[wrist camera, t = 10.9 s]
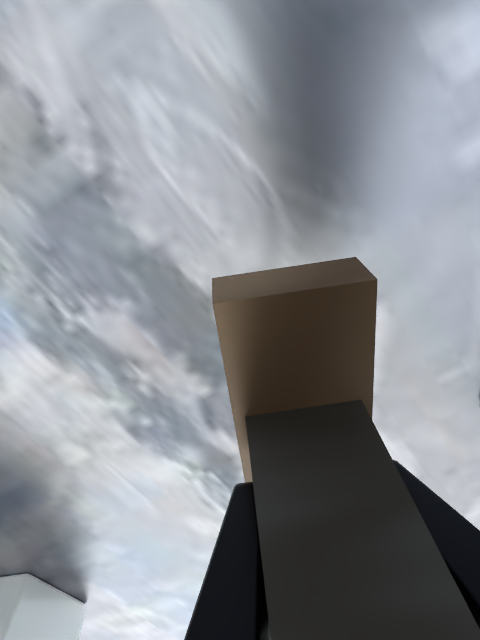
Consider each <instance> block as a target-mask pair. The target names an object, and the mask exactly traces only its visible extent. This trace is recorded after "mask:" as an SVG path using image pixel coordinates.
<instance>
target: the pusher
mask: <svg viewBox="0 0 480 640" xmlns="http://www.w3.org/2000/svg"><path fill="white" fill-rule="evenodd" d="M212 296H213V308H214V314H215V319H216V325H217V330H218V336H219V341H220V347H221V352H222V358H223V363H224V369H225V374H226V380H227V385H228V391H229V396H230V402H231V407H232V413H233V418H234V424H235V429H236V434H237V440H238V445H239V451H240V456H241V462H242V467H243V473H244V478H245V482H253V489H254V497H255V506H256V515H257V523H258V532H259V541H260V549H261V558H262V567H263V575H264V584H265V592H266V601H267V610H268V618H269V627H270V636H271V640H480V629H479V627H478V625H477V623H476V621H475V619H474V617H473V615H472V614H471V612H470V610H469V608H468V606H467V604H466V602H465V600H464V598H463V596H462V594H461V592H460V590H459V588H458V586H457V584H456V582H455V581H454V579H453V577H452V575H451V573H450V571H449V569H448V567H447V565H446V563H445V561H444V559H443V557H442V555H441V553H440V551H439V549H438V548H437V546H436V544H435V542H434V540H433V538H432V536H431V534H430V532H429V530H428V528H427V526H426V524H425V522H424V520H423V518H422V516H421V515H420V513H419V511H418V509H417V507H416V505H415V503H414V501H413V499H412V497H411V495H410V493H409V491H408V489H407V487H406V485H405V483H404V482H403V480H402V478H401V476H400V474H399V472H398V470H397V468H396V466H395V464H394V462H393V460H392V458H391V456H390V454H389V452H388V450H387V449H386V447H385V445H384V443H383V441H382V439H381V437H380V435H379V433H378V431H377V429H376V427H375V425H374V423H373V421H372V407H373V381H374V354H375V328H376V301H377V278H376V277H375V276H374V275H373V274H372V273H371V272H370V271H369V270H368V269H367V268H366V267H365V266H364V265H363V264H362V263H361V262H360V261H359V260H358V259H357V258H356V257H353V258H346V259H339V260H332V261H325V262H319V263H312V264H305V265H298V266H292V267H285V268H278V269H271V270H265V271H258V272H251V273H244V274H238V275H231V276H224V277H217V278H212Z"/></svg>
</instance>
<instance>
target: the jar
mask: <svg viewBox="0 0 480 640" xmlns="http://www.w3.org/2000/svg"><path fill="white" fill-rule="evenodd" d="M85 611H86V605H85V604H84V603H83V602H81V601H79V600H77V599H75V598H73V597H72V596H70V595H68V594H66V593H64V592H62V591H60V590H58V589H57V588H55V587H53V586H51V585H49V584H47V583H45V582H43V581H42V580H40V579H38V578H36V577H34V576H32V575H31V574H27V573H26V574H19V575H12V576H4V577H0V640H79V637H80V633H81V628H82V624H83V620H84V615H85Z"/></svg>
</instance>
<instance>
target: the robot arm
mask: <svg viewBox="0 0 480 640" xmlns="http://www.w3.org/2000/svg"><path fill="white" fill-rule="evenodd" d="M393 462H394V464H395V466H396V468H397V470H398V472H399V474H400V476H401V478H402V480H403V482H404V483H405V485H406V487H407V489H408V491H409V493H410V495H411V497H412V499H413V501H414V503H415V505H416V507H417V509H418V511H419V513H420V515H421V516H422V518H423V520H424V522H425V524H426V526H427V528H428V530H429V532H430V534H431V536H432V538H433V540H434V542H435V544H436V546H437V548H438V549H439V551H440V553H441V555H442V557H443V559H444V561H445V563H446V565H447V567H448V569H449V571H450V573H451V575H452V577H453V579H454V581H455V582H456V584H457V586H458V588H459V590H460V592H461V594H462V596H463V598H464V600H465V602H466V604H467V606H468V608H469V610H470V612H471V614H472V615H473V617H474V619H475V621H476V623H477V625H478V627H479V629H480V531H479V530H478V529H477V528H476V527H475V526H473V525H472V524H471V523H470V522H469V521H467V520H466V519H465V518H464V517H463V516H462V515H460V514H459V513H458V512H457V511H456V510H454V509H453V508H452V507H451V506H450V505H448V504H447V503H446V502H445V501H444V500H442V499H441V498H440V497H439V496H438V495H437V494H435V493H434V492H433V491H432V490H431V489H429V488H428V487H427V486H426V485H425V484H423V483H422V482H421V481H420V480H419V479H417V478H416V477H415V476H414V475H413V474H412V473H410V472H409V471H408V470H407V469H406V468H404V467H403V466H402V465H401V464H400V463H398V462H397V461H395V460H393ZM184 640H271V636H270V627H269V618H268V610H267V601H266V592H265V584H264V575H263V567H262V558H261V549H260V541H259V532H258V523H257V515H256V506H255V497H254V489H253V482H245V483H239V484H236V485H235V487H234V489H233V492H232V495H231V498H230V501H229V505H228V508H227V511H226V514H225V517H224V520H223V523H222V526H221V529H220V532H219V535H218V538H217V541H216V544H215V547H214V550H213V553H212V556H211V559H210V563H209V566H208V569H207V572H206V575H205V578H204V581H203V584H202V587H201V590H200V593H199V596H198V599H197V602H196V605H195V608H194V611H193V614H192V617H191V621H190V624H189V627H188V630H187V633H186V636H185V639H184Z"/></svg>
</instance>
